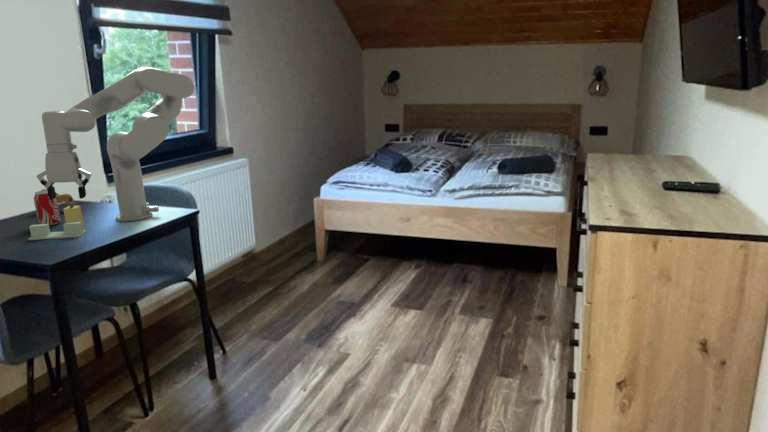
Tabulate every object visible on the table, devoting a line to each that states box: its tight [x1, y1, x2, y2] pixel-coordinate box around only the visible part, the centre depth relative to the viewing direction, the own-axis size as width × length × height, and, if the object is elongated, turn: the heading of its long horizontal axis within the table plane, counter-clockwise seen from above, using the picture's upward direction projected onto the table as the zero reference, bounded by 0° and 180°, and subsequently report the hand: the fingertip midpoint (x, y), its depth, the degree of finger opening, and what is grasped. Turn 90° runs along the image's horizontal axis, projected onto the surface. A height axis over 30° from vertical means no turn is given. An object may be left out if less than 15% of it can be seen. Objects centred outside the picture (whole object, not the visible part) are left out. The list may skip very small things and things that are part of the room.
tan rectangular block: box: [63, 201, 85, 229], centre depth 195 cm, size 4×4×10 cm
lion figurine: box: [40, 188, 78, 206], centre depth 224 cm, size 15×5×9 cm, turn 94°
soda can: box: [33, 190, 61, 227], centre depth 203 cm, size 7×7×12 cm
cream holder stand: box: [28, 222, 87, 241], centre depth 189 cm, size 16×6×4 cm, turn 96°
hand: (67, 198), depth 193 cm, fingers open, 9 cm apart
